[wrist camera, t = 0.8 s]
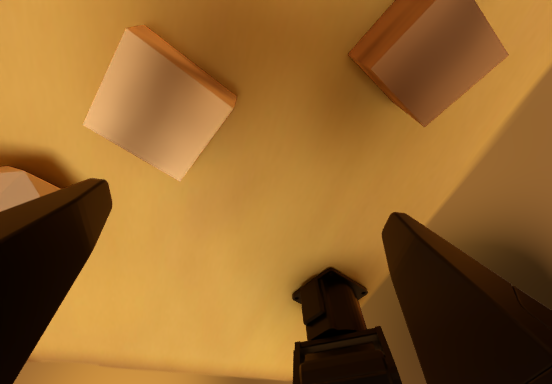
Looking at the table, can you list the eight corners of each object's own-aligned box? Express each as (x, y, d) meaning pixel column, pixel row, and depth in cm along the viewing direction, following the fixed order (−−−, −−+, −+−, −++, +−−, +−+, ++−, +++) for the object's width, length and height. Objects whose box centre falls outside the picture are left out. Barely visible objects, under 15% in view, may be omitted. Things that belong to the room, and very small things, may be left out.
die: (-25, 194, 25) (-38, 307, 21) (-116, 138, 17) (-156, 298, 14) (83, 182, 28) (87, 280, 24) (47, 131, 20) (45, 261, 17)
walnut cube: (454, 43, 18) (509, 54, 14) (392, 101, 20) (424, 127, 16) (410, -18, 16) (458, -25, 12) (347, 53, 19) (370, 68, 14)
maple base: (237, 95, 20) (233, 108, 18) (189, 162, 23) (180, 181, 21) (145, 24, 17) (126, 28, 15) (105, 110, 20) (82, 124, 18)
